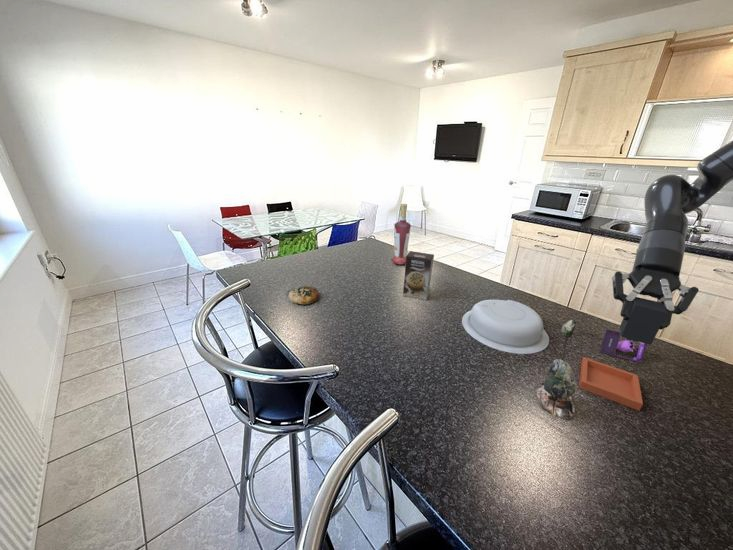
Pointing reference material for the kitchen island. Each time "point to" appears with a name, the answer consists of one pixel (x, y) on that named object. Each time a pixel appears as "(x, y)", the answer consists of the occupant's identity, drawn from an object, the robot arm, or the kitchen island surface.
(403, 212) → the liquor
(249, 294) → the kitchen island surface
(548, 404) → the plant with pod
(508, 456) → the kitchen island surface
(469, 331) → the grey round dish
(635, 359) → the purple box
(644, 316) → the pad block
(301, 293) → the bread roll
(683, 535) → the kitchen island surface
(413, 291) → the dark cardboard box
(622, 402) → the base pad
